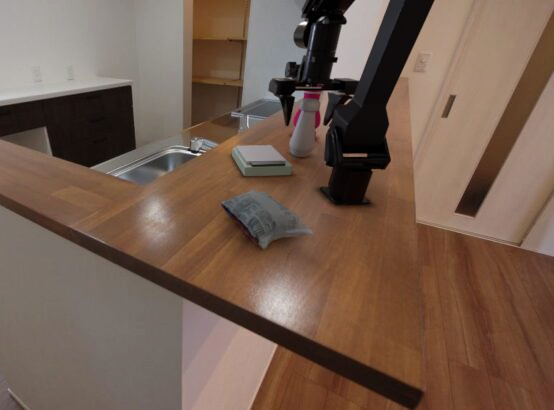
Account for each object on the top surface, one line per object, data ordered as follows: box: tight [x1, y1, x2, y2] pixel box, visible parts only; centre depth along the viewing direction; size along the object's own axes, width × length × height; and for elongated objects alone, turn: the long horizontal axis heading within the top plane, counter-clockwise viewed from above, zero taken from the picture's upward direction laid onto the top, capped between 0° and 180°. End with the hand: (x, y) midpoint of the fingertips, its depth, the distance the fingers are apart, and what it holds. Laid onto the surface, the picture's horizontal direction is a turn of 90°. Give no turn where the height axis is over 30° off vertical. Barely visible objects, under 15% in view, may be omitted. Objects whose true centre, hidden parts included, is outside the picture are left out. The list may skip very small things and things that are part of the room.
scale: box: [231, 144, 293, 177], centre depth 67 cm, size 12×10×3 cm
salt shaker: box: [288, 98, 321, 158], centre depth 71 cm, size 6×6×13 cm
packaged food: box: [220, 189, 314, 250], centre depth 44 cm, size 9×12×5 cm
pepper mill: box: [291, 91, 324, 137], centre depth 82 cm, size 7×7×20 cm
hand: (305, 125), depth 70 cm, fingers open, 9 cm apart
